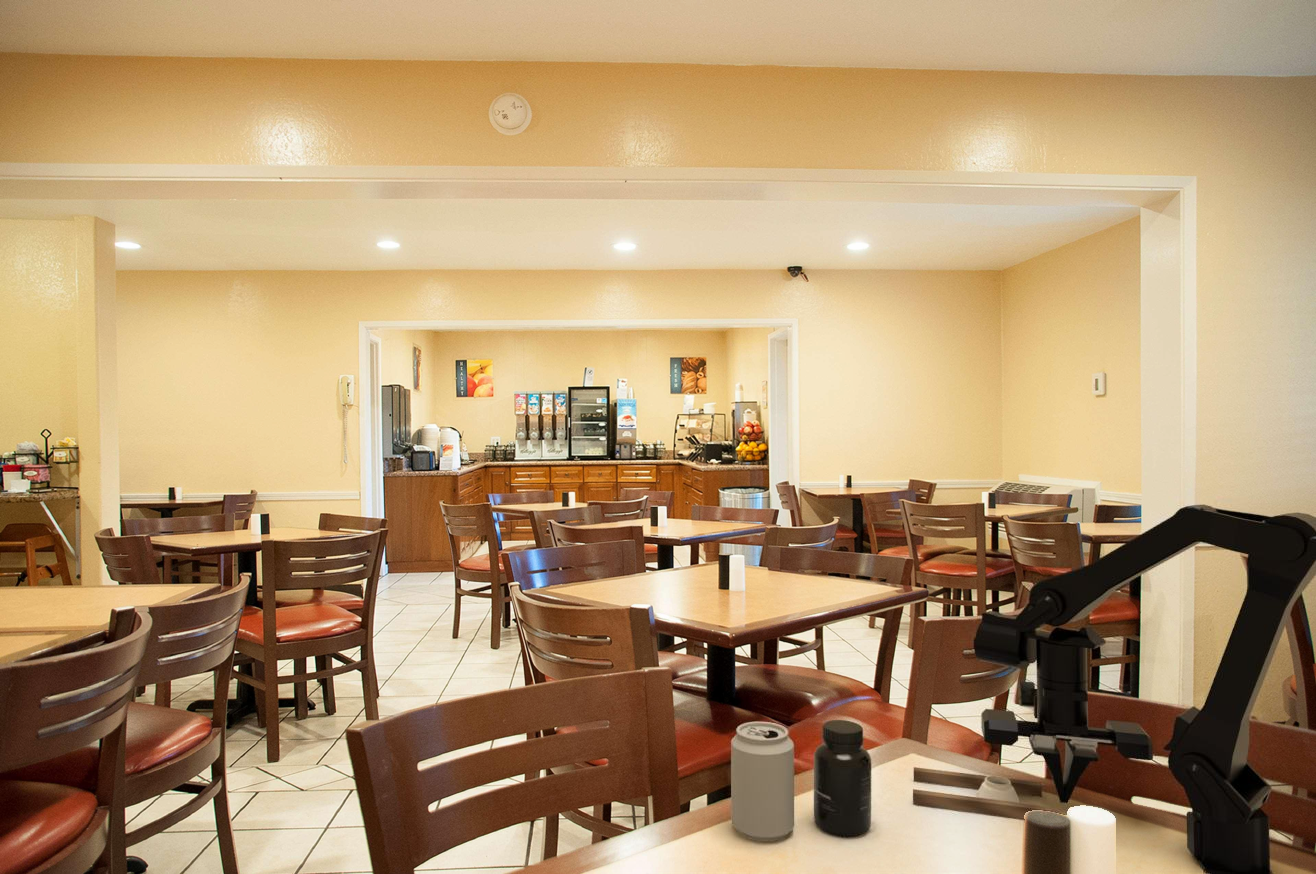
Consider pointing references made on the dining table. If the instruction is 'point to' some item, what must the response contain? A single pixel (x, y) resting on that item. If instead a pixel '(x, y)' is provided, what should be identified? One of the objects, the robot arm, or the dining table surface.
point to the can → (762, 781)
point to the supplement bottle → (842, 781)
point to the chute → (973, 803)
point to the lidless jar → (997, 789)
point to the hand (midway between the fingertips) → (1063, 801)
